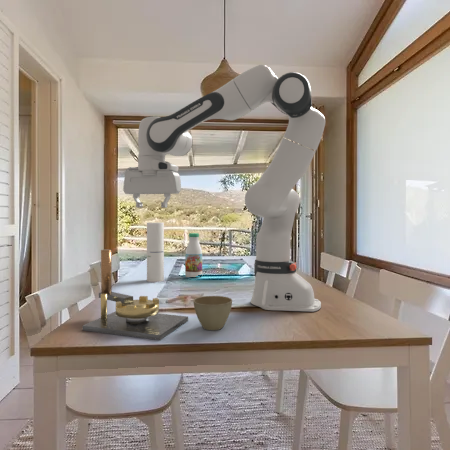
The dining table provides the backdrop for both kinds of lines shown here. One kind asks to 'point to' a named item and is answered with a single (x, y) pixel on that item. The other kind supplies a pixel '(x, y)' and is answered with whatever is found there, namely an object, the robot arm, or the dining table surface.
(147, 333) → the flange base
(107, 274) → the crank handle
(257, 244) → the robot arm
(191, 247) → the milk bottle
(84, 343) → the dining table surface
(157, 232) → the cylindrical container
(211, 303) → the flower pot
